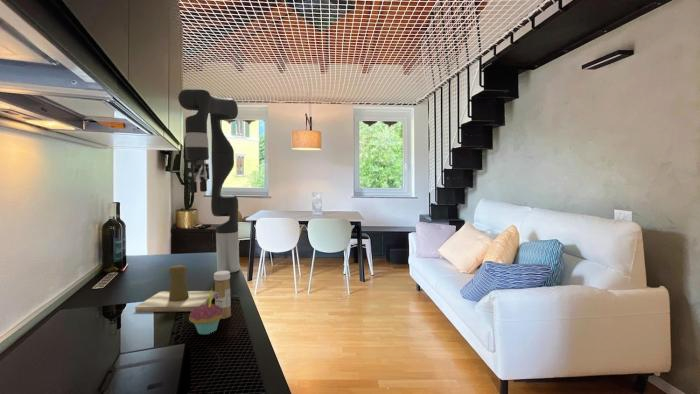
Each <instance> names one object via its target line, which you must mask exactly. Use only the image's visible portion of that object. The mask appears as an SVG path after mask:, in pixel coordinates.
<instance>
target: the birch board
mask: <svg viewBox="0 0 700 394" xmlns="http://www.w3.org/2000/svg"><path fill="white" fill-rule="evenodd" d="M210 291H211V290H202V291H201V290H190V291H189V290H188V295H189V298H188V299H186V300H183V301H176V302H173V301H169V293H170V290H169V291H165V290H163V291H158V292H157V293H156V294H154V295H152V296H151V297H149V298H147V299H146V300H144V301H143V302H140V303H139V304H138V305H136V306H134V308H135V312H136V313H138V312H139V313H141V312H142V313H144V312H147V313H148V312H157V313H158V312H192V310H193V309H195V308H196V307H197V306H200V305H207V304H209V296H210ZM212 291H213V292H212V300H213V299H214V300H215V290H212Z"/></svg>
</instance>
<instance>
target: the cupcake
mask: <svg viewBox="0 0 700 394" xmlns="http://www.w3.org/2000/svg"><path fill="white" fill-rule="evenodd" d="M209 291H210V296H209V303H208V304H207V305H200V306H197V307H196V308H195V309H193V310H192V311H190V313H189V317H188V320H189V322H190V323H193V324H194V326H195V328H196V332H197V333H198V334H199V335H210V333H211V334H213V333H215V332H216V331H217V329H218V326H219V324H220V323H219V322H220V320H221V319H220V318H222V315H223V310H222V309H221V307H219V306H217V305H215V303H212V301H213V299H212V292H213V291H214V290H213V288H211V289H210V290H209ZM214 331H215V332H214ZM212 332H213V333H212Z"/></svg>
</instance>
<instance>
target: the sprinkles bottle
mask: <svg viewBox="0 0 700 394" xmlns="http://www.w3.org/2000/svg"><path fill="white" fill-rule="evenodd" d="M230 279H231V273H230V272H229V271H218V272H217V271H215V272H214V273H213V280H214V291H215V298H214V305H217V306H219V307H221V309H222V310H223V315H222V318H220V320H225V319H228V318H230V317H231V316H232V312H231V311H232V309H231V299H232V298H231V281H230Z"/></svg>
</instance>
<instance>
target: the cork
mask: <svg viewBox="0 0 700 394" xmlns="http://www.w3.org/2000/svg"><path fill="white" fill-rule="evenodd" d="M168 273H169V276H170V283H169V284H170V285H169V286H170V287H169V291H170V293H169V301H173V302H176V301H183V300H186V299H188V298H189V295H188V291H189V290H188V285H187V279H186V274H187V267H186V265H184V264H177V265H176V264H175V265H172V266H170V267H169V269H168Z"/></svg>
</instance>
